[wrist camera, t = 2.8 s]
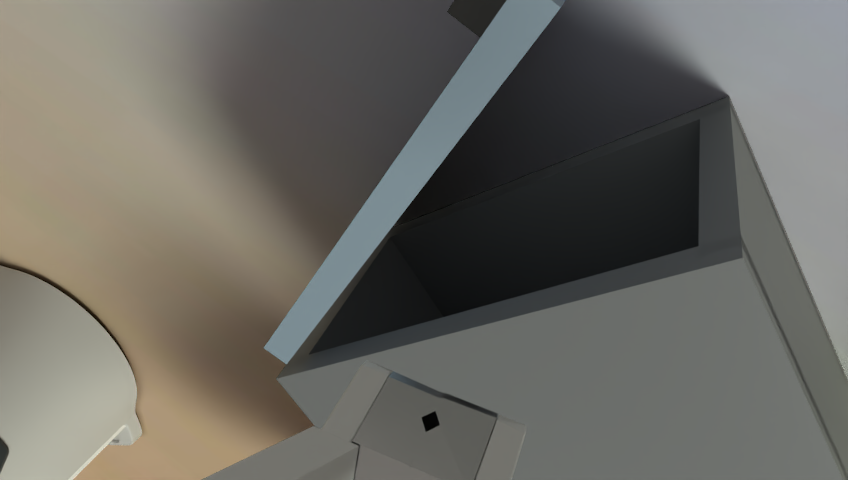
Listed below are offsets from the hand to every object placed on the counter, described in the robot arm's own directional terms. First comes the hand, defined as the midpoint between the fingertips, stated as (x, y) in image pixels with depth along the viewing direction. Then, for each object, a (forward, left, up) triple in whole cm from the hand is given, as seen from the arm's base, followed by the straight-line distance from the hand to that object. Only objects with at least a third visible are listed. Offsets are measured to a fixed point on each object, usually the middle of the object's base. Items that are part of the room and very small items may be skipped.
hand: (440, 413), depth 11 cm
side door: (-4, +2, -16) cm, 17 cm away
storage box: (-4, -10, -16) cm, 19 cm away
